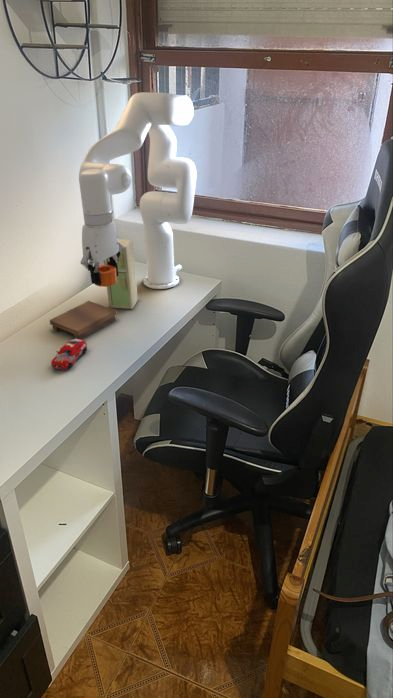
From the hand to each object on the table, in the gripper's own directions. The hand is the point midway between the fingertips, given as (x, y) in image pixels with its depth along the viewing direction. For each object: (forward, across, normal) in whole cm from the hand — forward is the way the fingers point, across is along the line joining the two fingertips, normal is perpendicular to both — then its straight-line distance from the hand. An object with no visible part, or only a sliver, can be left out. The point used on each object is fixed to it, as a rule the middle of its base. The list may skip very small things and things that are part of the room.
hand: (105, 279), depth 150 cm
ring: (+1, 0, 0) cm, 1 cm away
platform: (+16, +4, -7) cm, 18 cm away
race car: (+16, +20, +4) cm, 25 cm away
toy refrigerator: (+16, -13, -7) cm, 22 cm away
